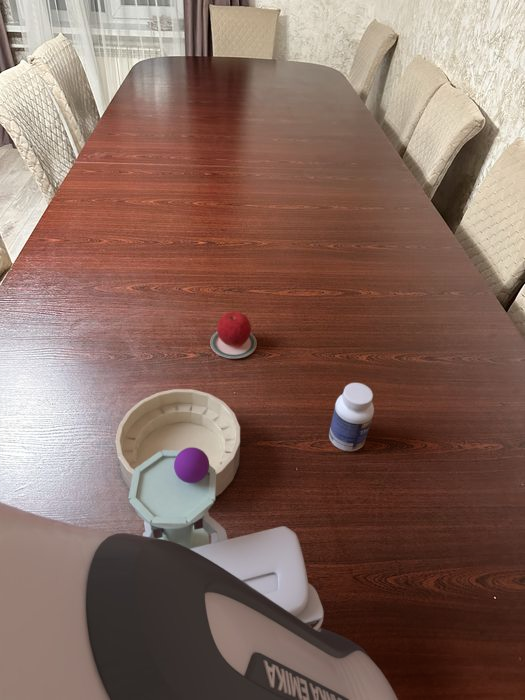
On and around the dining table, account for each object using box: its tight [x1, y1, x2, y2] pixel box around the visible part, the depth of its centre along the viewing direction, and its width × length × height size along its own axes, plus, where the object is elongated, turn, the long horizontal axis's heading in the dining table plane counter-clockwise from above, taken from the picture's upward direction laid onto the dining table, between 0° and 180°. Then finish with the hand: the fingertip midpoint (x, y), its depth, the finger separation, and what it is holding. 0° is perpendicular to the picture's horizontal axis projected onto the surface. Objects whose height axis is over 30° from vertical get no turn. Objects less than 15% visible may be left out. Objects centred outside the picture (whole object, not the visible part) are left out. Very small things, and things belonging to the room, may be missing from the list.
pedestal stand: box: [128, 450, 216, 549], centre depth 48 cm, size 7×7×11 cm
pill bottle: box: [328, 382, 375, 452], centre depth 74 cm, size 5×5×10 cm
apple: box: [209, 311, 257, 360], centre depth 89 cm, size 8×8×6 cm
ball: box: [174, 447, 209, 483], centre depth 45 cm, size 3×3×3 cm
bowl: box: [114, 388, 241, 498], centre depth 71 cm, size 16×16×6 cm
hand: (174, 511), depth 49 cm, fingers closed on pedestal stand, 3 cm apart
